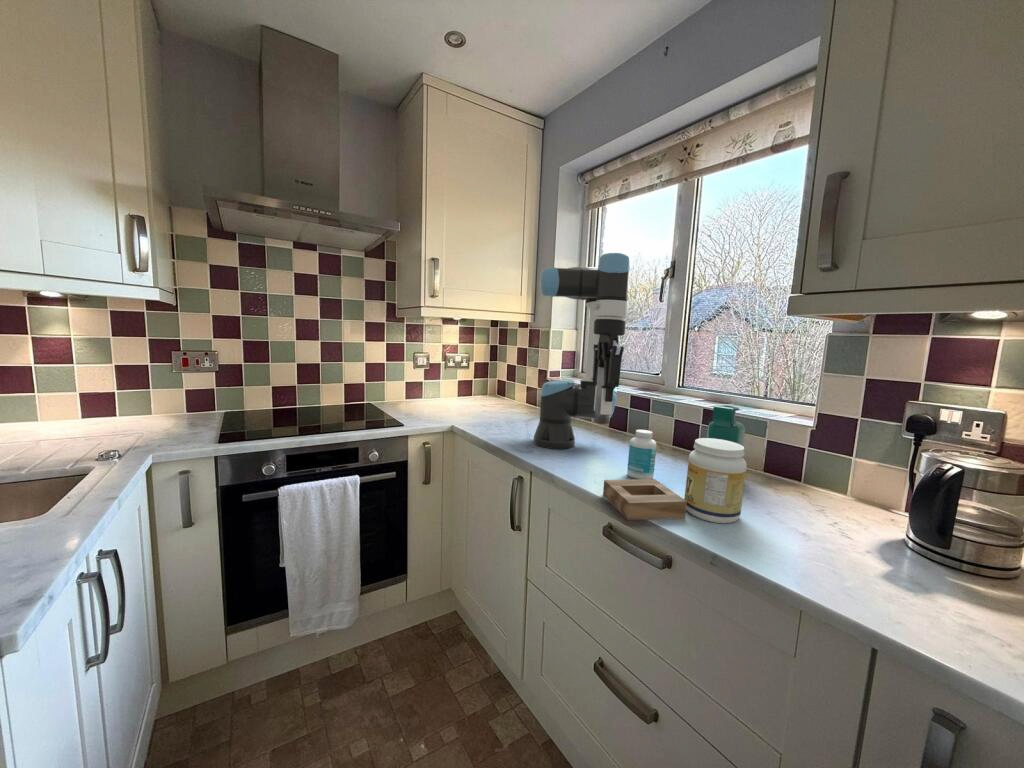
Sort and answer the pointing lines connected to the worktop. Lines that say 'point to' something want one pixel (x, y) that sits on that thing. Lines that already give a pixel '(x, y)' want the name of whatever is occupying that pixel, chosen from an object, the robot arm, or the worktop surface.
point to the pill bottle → (642, 455)
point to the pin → (600, 382)
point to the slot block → (644, 499)
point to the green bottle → (726, 425)
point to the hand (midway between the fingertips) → (602, 412)
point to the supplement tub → (715, 480)
